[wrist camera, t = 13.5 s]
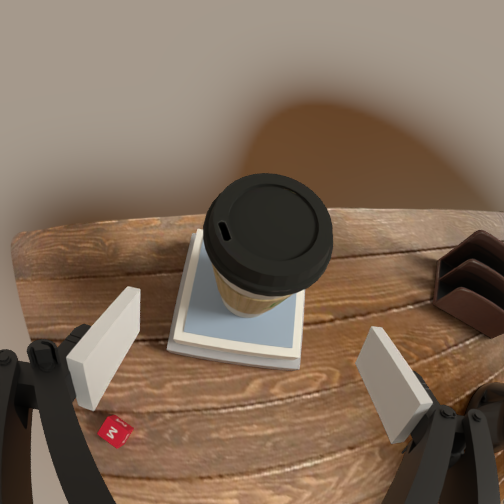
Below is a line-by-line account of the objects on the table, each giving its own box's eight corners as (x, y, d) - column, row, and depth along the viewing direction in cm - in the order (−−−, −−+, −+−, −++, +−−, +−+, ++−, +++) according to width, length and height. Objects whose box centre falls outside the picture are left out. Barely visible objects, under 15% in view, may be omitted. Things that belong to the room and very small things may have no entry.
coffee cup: (302, 317, 32) (364, 262, 19) (220, 345, 30) (229, 307, 17) (271, 244, 36) (305, 159, 23) (194, 265, 34) (187, 179, 20)
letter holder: (436, 260, 48) (483, 222, 35) (493, 298, 46) (538, 272, 34) (431, 305, 43) (486, 272, 31) (491, 339, 41) (541, 317, 29)
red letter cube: (123, 444, 28) (117, 448, 25) (104, 431, 28) (96, 433, 25) (134, 428, 29) (128, 431, 26) (115, 414, 29) (107, 416, 27)
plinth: (300, 262, 43) (314, 241, 37) (292, 370, 35) (307, 366, 30) (193, 243, 42) (191, 220, 36) (169, 352, 34) (162, 345, 29)
